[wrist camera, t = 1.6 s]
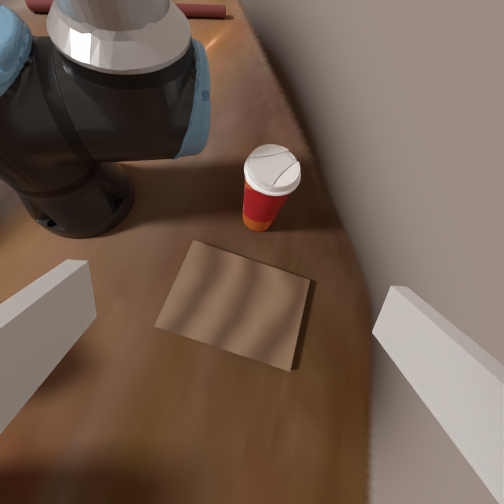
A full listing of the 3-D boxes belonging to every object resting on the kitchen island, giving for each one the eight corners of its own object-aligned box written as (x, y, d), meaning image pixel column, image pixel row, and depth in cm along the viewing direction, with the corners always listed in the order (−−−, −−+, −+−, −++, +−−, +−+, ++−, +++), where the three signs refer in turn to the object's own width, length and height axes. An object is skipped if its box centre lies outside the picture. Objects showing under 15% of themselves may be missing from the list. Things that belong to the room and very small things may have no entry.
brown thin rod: (32, 17, 55) (22, -1, 52) (33, 9, 56) (23, -9, 53) (226, 22, 64) (226, 7, 61) (223, 15, 65) (223, 0, 62)
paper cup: (262, 193, 45) (280, 133, 32) (286, 224, 44) (315, 174, 31) (227, 211, 43) (232, 154, 30) (251, 245, 41) (267, 200, 28)
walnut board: (156, 326, 34) (154, 326, 33) (194, 243, 40) (193, 239, 38) (287, 370, 35) (290, 371, 33) (306, 282, 40) (310, 279, 39)
